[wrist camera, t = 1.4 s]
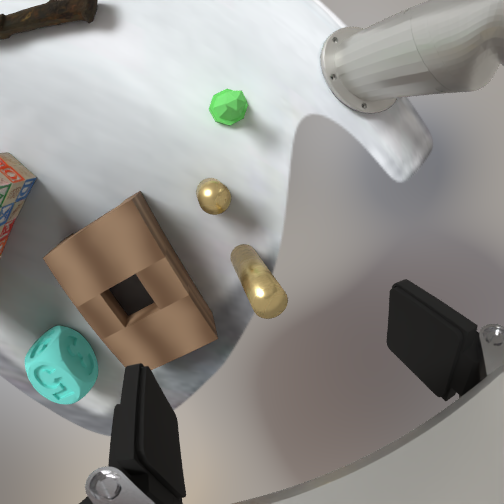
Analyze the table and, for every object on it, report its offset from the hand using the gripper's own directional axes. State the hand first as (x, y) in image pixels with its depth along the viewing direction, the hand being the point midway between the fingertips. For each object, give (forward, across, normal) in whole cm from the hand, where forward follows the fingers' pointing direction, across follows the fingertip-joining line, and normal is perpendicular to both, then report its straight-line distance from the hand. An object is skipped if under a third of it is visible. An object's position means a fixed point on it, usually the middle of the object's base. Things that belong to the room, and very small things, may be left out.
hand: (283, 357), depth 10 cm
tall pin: (+26, -3, +6) cm, 27 cm away
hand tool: (+27, +17, -31) cm, 44 cm away
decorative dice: (+27, +25, +13) cm, 39 cm away
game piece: (+26, -5, -12) cm, 29 cm away
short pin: (+26, -1, -2) cm, 26 cm away
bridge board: (+27, +11, +6) cm, 29 cm away
